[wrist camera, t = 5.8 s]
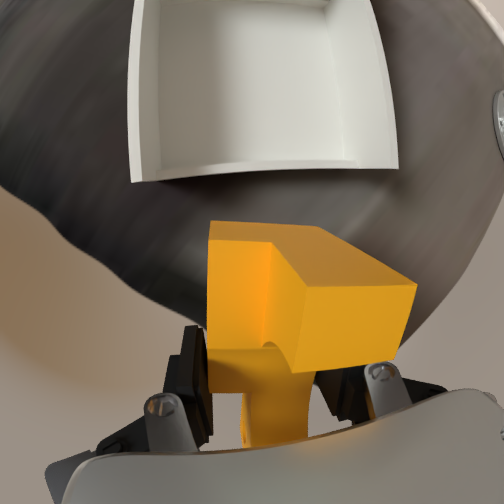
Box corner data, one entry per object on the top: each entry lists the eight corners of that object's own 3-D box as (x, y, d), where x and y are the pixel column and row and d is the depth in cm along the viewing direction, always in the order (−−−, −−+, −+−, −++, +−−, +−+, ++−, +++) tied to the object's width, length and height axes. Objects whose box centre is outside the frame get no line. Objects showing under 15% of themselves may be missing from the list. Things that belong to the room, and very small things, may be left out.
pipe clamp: (210, 220, 11) (204, 285, 4) (317, 226, 11) (417, 284, 5) (210, 427, 14) (215, 520, 8) (282, 424, 14) (308, 511, 8)
